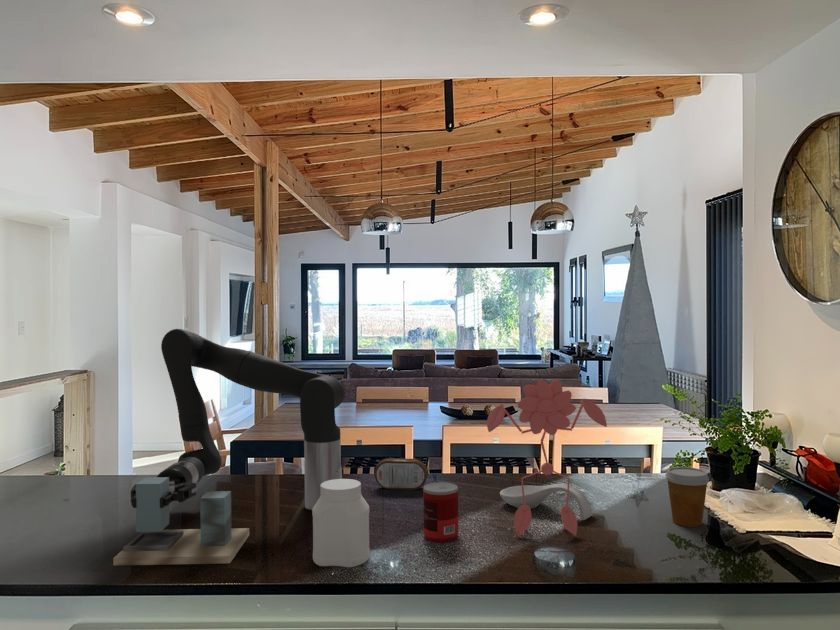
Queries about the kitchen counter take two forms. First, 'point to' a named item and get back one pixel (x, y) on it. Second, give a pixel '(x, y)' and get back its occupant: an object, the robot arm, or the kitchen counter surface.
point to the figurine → (548, 413)
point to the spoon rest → (544, 496)
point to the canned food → (440, 511)
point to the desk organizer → (190, 539)
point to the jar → (341, 525)
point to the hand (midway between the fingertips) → (148, 503)
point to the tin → (401, 473)
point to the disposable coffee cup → (687, 494)
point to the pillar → (151, 504)
